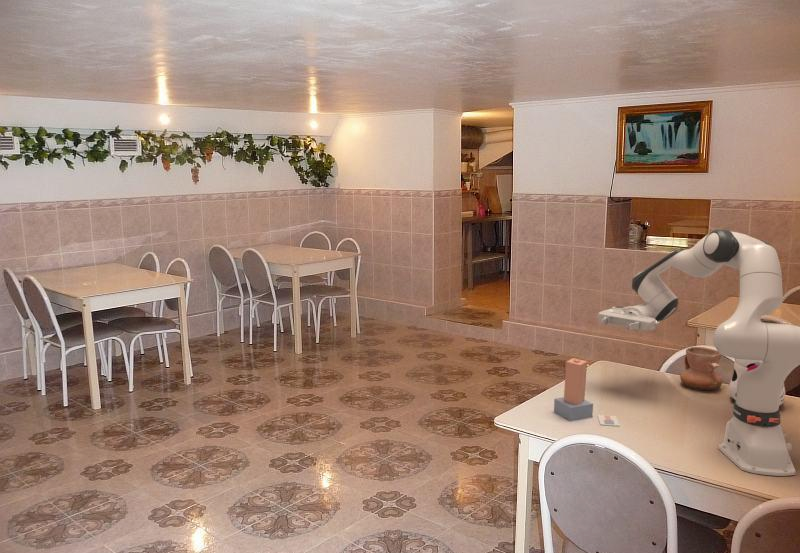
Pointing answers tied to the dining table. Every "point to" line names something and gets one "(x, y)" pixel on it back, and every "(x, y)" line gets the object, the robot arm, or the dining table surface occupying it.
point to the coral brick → (575, 381)
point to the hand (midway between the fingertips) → (615, 324)
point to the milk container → (740, 369)
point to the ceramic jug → (701, 368)
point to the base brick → (573, 409)
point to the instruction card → (608, 420)
